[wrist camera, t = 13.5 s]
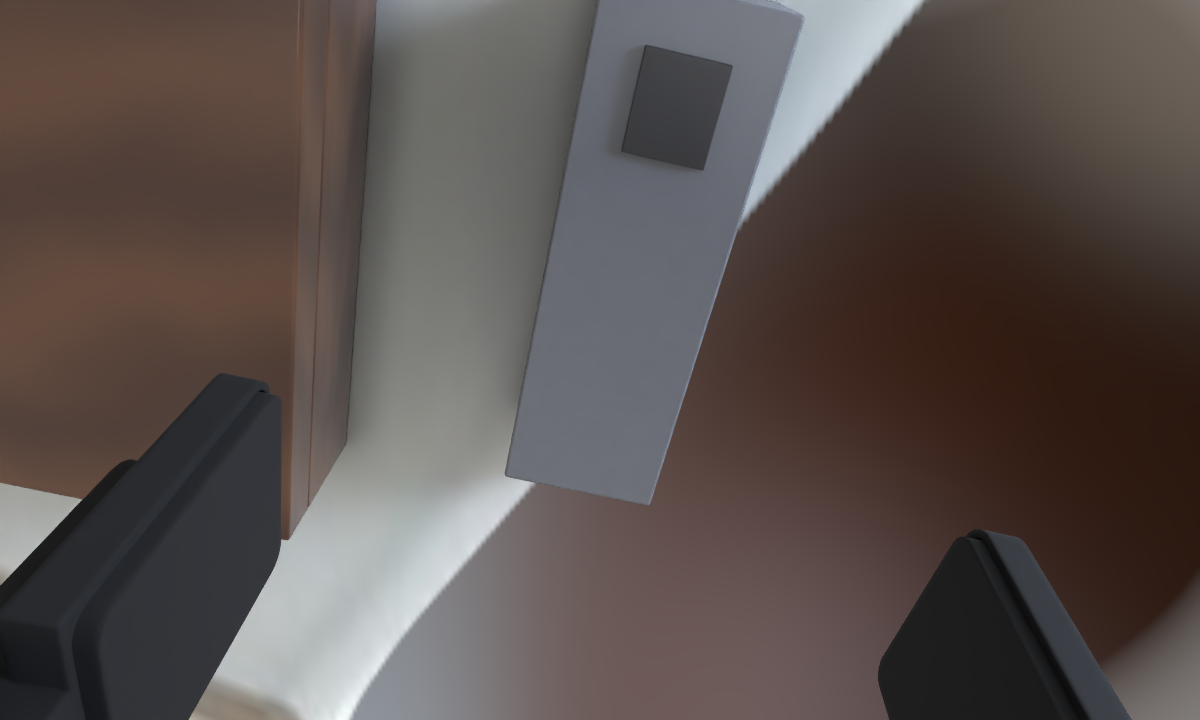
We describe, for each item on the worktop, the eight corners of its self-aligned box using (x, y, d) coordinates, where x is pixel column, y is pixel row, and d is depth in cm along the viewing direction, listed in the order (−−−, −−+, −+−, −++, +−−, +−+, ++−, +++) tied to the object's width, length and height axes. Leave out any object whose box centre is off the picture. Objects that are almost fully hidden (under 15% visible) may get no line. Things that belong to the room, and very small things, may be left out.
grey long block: (610, -39, 19) (602, -34, 16) (781, 4, 20) (808, 17, 16) (520, 414, 26) (502, 480, 23) (649, 441, 26) (649, 510, 23)
